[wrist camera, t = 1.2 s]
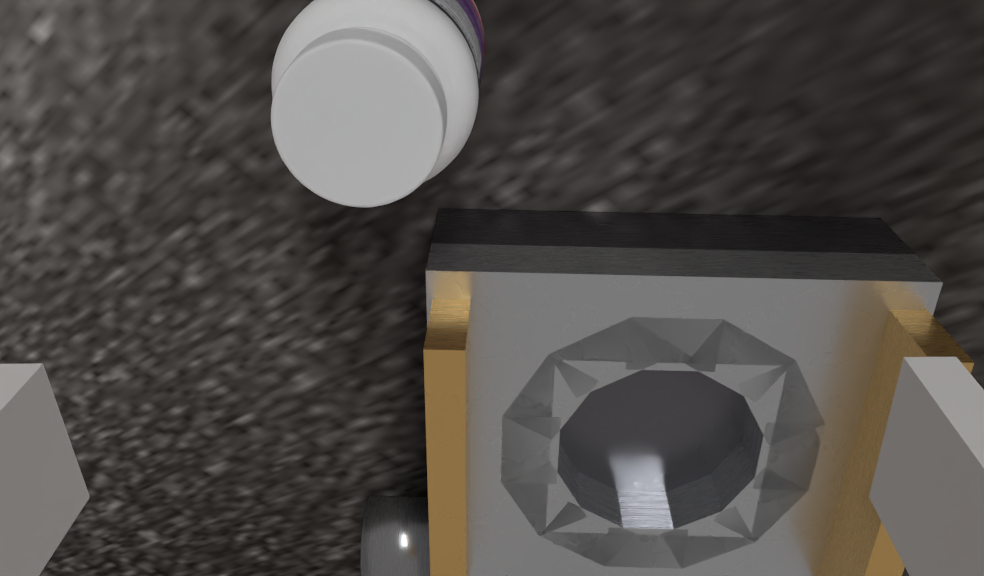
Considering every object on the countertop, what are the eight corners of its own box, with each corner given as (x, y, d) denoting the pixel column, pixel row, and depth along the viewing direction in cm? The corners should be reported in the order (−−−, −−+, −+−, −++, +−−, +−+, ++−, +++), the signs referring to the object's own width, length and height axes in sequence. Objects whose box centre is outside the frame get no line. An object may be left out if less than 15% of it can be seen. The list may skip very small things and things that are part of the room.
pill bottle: (393, 148, 29) (343, 275, 21) (290, 20, 27) (187, 101, 19) (519, 58, 28) (520, 154, 19) (419, -85, 26) (370, -50, 17)
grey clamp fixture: (356, 206, 30) (308, 316, 23) (880, 218, 30) (992, 332, 23) (383, 593, 40) (355, 755, 33) (782, 605, 39) (839, 771, 32)
